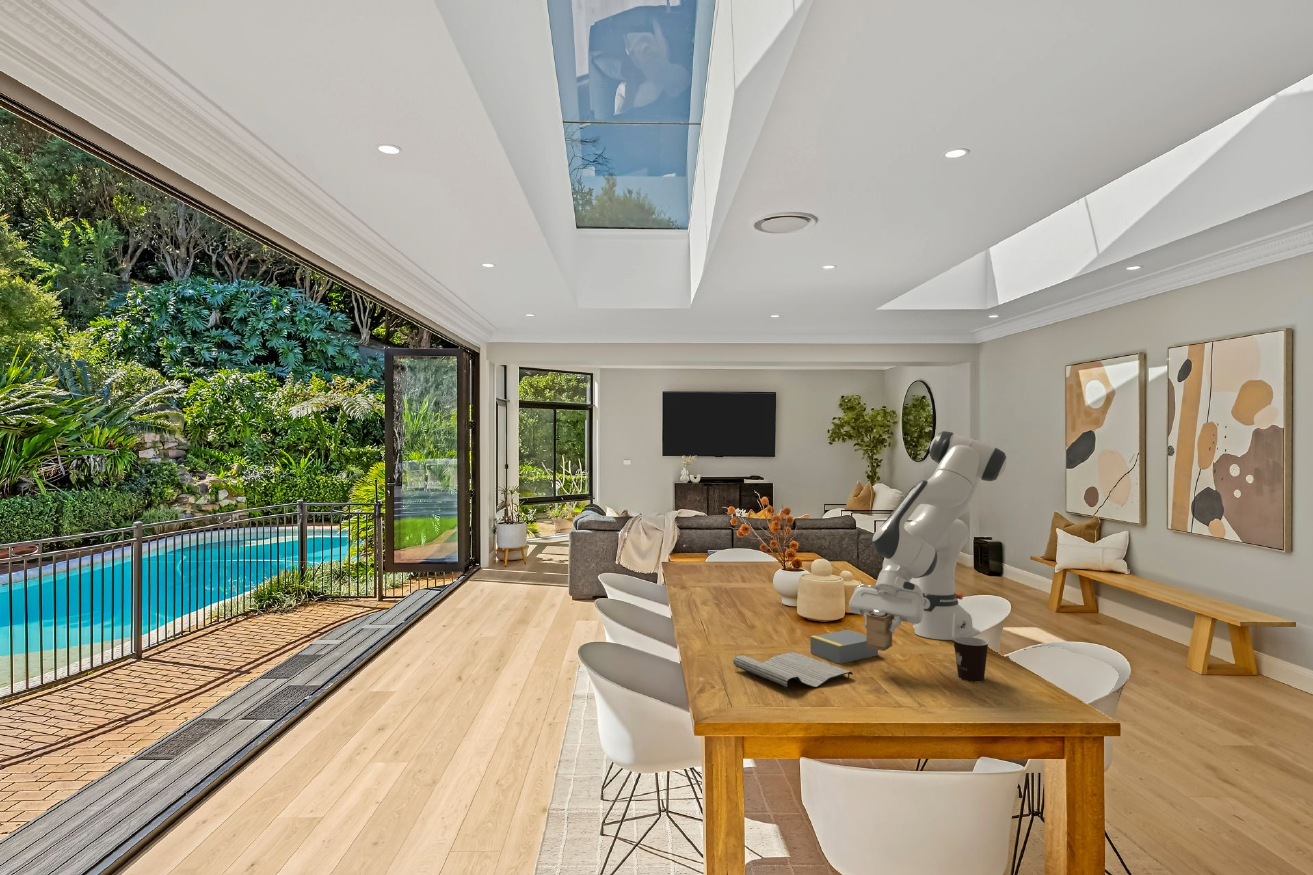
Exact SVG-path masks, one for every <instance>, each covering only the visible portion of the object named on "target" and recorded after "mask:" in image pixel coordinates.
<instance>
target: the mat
mask: <svg viewBox="0 0 1313 875" xmlns="http://www.w3.org/2000/svg"><path fill="white" fill-rule="evenodd" d="M732 663H733V665H734V666H735V667H736V668H738V669H741V670H744V671H745V672H748V673H751V674H753V675H756V676H758V677H761V678H764V679H765V680H768V681H770V682H772V683H776V684H778V685H781V686H783V687H784V689H785V692H786V693H788V690H787V688H788V687H789V684H788V683H789V681H790V680H793V679H794V680H795V681H797V682H799V683H801V684H803V685H806V686H808V687H811V688H819V687H821V686H822V685H823V684H825V683H827V682H829V680H831V679H835V678H839V677H841V676H845V675H847V678H848V679H850V675H854V674H853V672H852V671H850V670H848V669H844V668H841V667H839V666H837V665H832V664H830V663H827V662H824V661H822V660H817V659H815V658H814V657H813V658H812V657H810V656H806V655H804V654H800V653H798V652H795V651H791V652H786V653H782V654H778V655H777V654H776V655H774V656H772V657H770V658H769V659H767V660H765V661H763V662H762V661H758V660H755V659H753V658H751V657H748V656H746V655H743V654H740V655H736V656H734V657H733V660H732Z"/></svg>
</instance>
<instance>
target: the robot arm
mask: <svg viewBox="0 0 1313 875" xmlns="http://www.w3.org/2000/svg"><path fill="white" fill-rule="evenodd" d="M929 456H930V458H931V460H932V461H934V462H936V463H937V467H936V468H935V471H934V472H933V474H932V475H931V477H930V478H928V479H927V480H925V479H924V480H922V479H921V480H919V481H918V482H917V483H915V484H914V485H913V486H912V487H911V488H910V489H909V491H908V492H907V493H906V494H905V495H904V497H903V498H902V499H901V501H900V502H899V503H898V505H897V506H896V507H895V508H894V510H893V511H892V512H891V513H890V515H889V516H888V517H887V518H886V520H885V521H884V522H883V523H882V524H881V525H880V526H879V527H878V528H877V529H876V530H875V532H874V534H873V536H872V538H871V544H872V547H873V549H874V552H875V554H876V555H878V556H880V557H883V558H884V559H883V561H882V569H881V570H880V572H879V573H878V577H877V580H876V583H875V585H871V584H870V585H869V584H860V585H857V586H856V587H855V588H854V591H853V594H852V596H851V598H850V600H849V602H848V607H849V609H850V611H851V612H852V614H857V615H863V616H864V620H865V622H864V628H865V629H867V615H868V614H870V613H872V612H873V610H876V609H879V610H884V611H885V614H890V615H892V624H888V627H887V631H888V632H889V633H892V634H894V633H895V632H896V631H895V629H897V628H898V627H899V626H900V625H901V624H902V622H903V623H909V624H913V625H912V629H913V630H914V634H915V635H918V636H920V637H921V638H922V637H924V638H927V639H933V640H941V641H953V639H954V638H956V637H976V636H978V635H981V630H980V629H979V628H976V627H973V618H972V615H971V614H970V613H969V612H968V611H967V610H966V609H965V608H963V607H962V606H961V605H960V604H959V600H963V599H964V595H963V593H961V592H960V593H959V592H956V591H955V587H956V586H955V581H956V580H955V579H956V577H955V575H956V574H955V573H956V566H957V562H958V559H959V555H960V553H961V551H962V549H963V547H964V546H965V545H966V544H967V542H968V541H969V539H970V530H969V527H968V525H967V524H966V523H965V522H964V521H963V520H961V519H959V517H961V516H962V515H963V514H965V513H966V511H967V509H968V507H969V505H970V502H971V501H972V498H973V495H974V493H975V491H976V488H977V487H978V483H979V480H980V479H981V481H984V482H985V481H986V482H993V481H996V480H997V479H998V478H999V477H1001V476H1002V475H1003V474H1004V472H1005V471H1006V467H1007V456H1006V453H1005V452H1004V451H1003V450H1001V449H999V448H997V447H993V446H991V445H989V444H987V443H985V442H982V441H980V440H977V439H973V438H970V437H968V436H964V435H959V434H956V433H954V432H951V431H945V430H944V431H940V432H939V433H937V435H935V437H934V438H933V439H932V441H931V442H930V446H929ZM920 505H925V506H924V508H923V509H921V511H920V512H919V514H918V515H917V516H916V517H915V518H914V519H913V520H911V521H909V522H908V520H909V519H910V517H911V516H912V515H913V514H914V512H915V511H916V510H917V508H918V507H919V506H920ZM906 522H908V523H907V524H906ZM905 524H906V525H905ZM912 579H918V584H915V583H914V582H911V580H912Z"/></svg>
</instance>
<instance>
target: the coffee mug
mask: <svg viewBox="0 0 1313 875" xmlns="http://www.w3.org/2000/svg"><path fill="white" fill-rule="evenodd" d="M952 641H953V648H954V655H955V662H956V670H957V671H956V672H957V677H958V678H959V679H960V678H961V679H960V680H962V681H965V680H968V681H967V682H970V681H973V682H972V683H976V682H975V681H982V680H984V681H985V673H986V665H987V656H988V648H989V647H988V646H989V642H988V641H987V640H986V639H982V638H978V637H975V636H973V637H956V638H954V639H953V640H952ZM982 682H983V681H982Z"/></svg>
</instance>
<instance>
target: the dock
mask: <svg viewBox="0 0 1313 875" xmlns="http://www.w3.org/2000/svg"><path fill="white" fill-rule="evenodd" d="M810 654H811V655H815V656H817V657H819V656H820V657H819V658H822V659H825V660H827V661H831V662H833V663H836V664H841V665H842V664H845V663H850V662H854V660H855V661H858V660H864V659H868V658H873V657H877V656H878V655H879V650H876V649H871V648H867V634H863V633H860V632H857V631H853V630H850V629H844V630H839V631H833V632H829V633H823V634H817V635H810ZM872 656H873V657H872ZM863 658H864V659H863Z"/></svg>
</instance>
